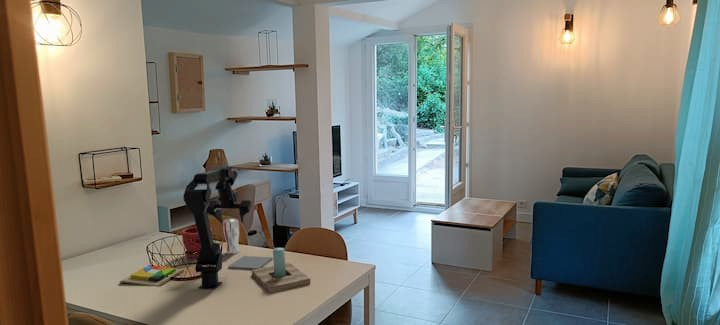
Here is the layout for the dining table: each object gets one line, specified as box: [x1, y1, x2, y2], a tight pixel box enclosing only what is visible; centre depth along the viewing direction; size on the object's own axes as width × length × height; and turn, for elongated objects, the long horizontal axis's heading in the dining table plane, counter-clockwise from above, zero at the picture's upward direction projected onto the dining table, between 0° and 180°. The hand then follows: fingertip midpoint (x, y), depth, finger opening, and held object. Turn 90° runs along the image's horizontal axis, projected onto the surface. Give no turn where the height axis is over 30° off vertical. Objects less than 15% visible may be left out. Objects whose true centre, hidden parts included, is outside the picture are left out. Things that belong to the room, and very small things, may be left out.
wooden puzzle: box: [119, 264, 185, 287], centre depth 204 cm, size 18×19×4 cm
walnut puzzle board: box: [251, 262, 311, 293], centre depth 196 cm, size 22×16×2 cm
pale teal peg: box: [272, 247, 287, 279], centre depth 196 cm, size 4×4×12 cm
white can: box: [223, 218, 241, 255], centre depth 232 cm, size 7×7×15 cm
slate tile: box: [227, 255, 273, 271], centre depth 216 cm, size 14×14×1 cm
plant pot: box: [181, 226, 213, 259], centre depth 230 cm, size 13×13×12 cm
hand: (232, 222), depth 218 cm, fingers open, 9 cm apart
